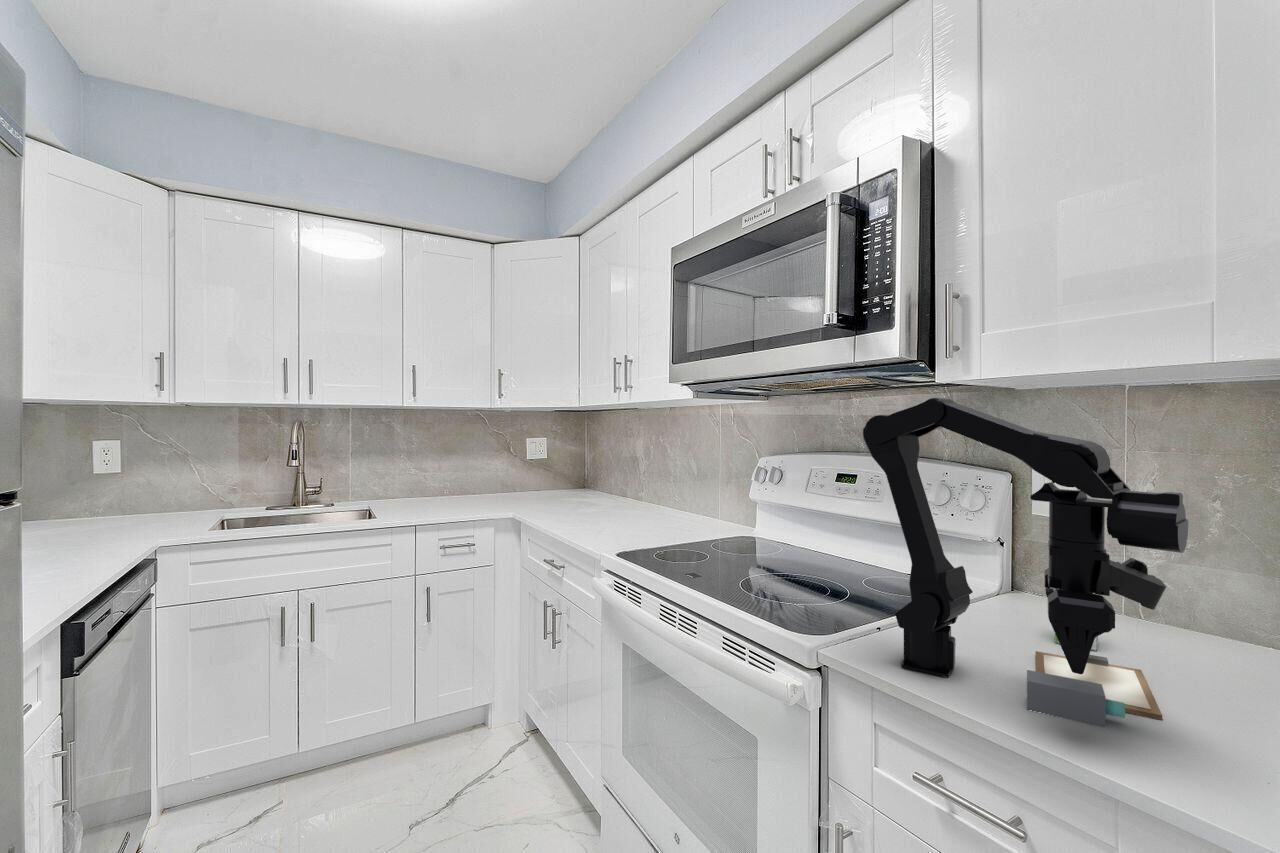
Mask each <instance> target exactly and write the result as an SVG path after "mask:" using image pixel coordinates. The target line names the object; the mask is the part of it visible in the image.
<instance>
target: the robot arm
mask: <svg viewBox="0 0 1280 853" xmlns="http://www.w3.org/2000/svg"><path fill="white" fill-rule="evenodd" d="M940 428H943V429H946V430H948V431H951V432H954V433H956V434H958V435H961V436H963V437H965V438H968V439H971V440H973V441H976V442H978V443H981V444H983V445H985V446H988V447H991V448H993V449H997V450H998V451H1001V452H1003V453H1006V454H1008V455H1010V456H1013V457H1014V458H1016V459H1018V460H1020V461H1021V462H1022V463H1024V464H1025V465H1026V466H1028V467H1029V468H1030V469H1031V470H1033V471H1035V473H1038V474H1040V475H1042V477H1045V478H1046V479H1048V480H1050V481H1051V482H1046V483H1045V482H1044V484H1043V485H1042V486H1041V488H1039V489H1038V490H1037V491H1036V492H1034V493H1032V494H1031V495H1030V496H1029V498H1030V500H1032V501H1035V502H1036V501H1038V502H1046V503H1049V505H1048V506H1049V507H1048V508H1049V510H1048V514H1049V515H1048V519H1049V520H1048V541H1047V543H1048V544H1047V548H1048V550H1047V551H1048V567H1047V568H1046V569H1044V574H1043V575H1044V576H1043V578H1044V579H1043V580H1044V582H1043V584H1044V588H1045V589H1044V590H1045V596H1046V597H1047V617H1048V621H1049V623H1050V625H1051V628H1052V629H1053V632H1054V635H1055V634H1056V636H1057V639H1058V641H1059V643H1060V644H1059V646H1060V647H1061V649H1062V652H1063V654H1064V656H1065V657H1066V659H1067V661H1068V664H1069V666H1070V668H1071V671H1072V672H1073V673H1077V674H1083V673H1084V670H1085V667H1086V664H1087V661H1088V657H1089V655H1091V651H1092V650H1091V648H1092V645H1093V642H1094V639H1095V638H1096V637H1097V636H1098V637H1099V636H1101V635H1103V634H1106V633H1110V632H1111V631H1113V630H1114V629H1116V611H1115V609H1114V606H1113V605H1112V603H1111V602H1110V601H1109V600H1107V599H1106V598H1105V597H1104V596H1107V597H1111V596H1110V595H1111V592H1112V593H1114V594H1117V595H1119V596H1121V597H1124V598H1126V599H1129V600H1131V601H1133V602H1136V603H1138V604H1140V606H1142V607H1144V608H1146V609H1149V610H1153V611H1154V610H1156V607H1157V606H1158V603H1160V600H1161V598H1162V597H1163V594H1164V592H1165V590H1166V589H1167V585H1166V584H1165V583H1164V582H1163V581H1162V580H1161V579H1160V578H1158V577H1157V576H1155V575H1153V574H1149V571H1148V565H1147V564H1146V563H1145V562H1144V561H1141V560H1139V559H1135V558H1133V557H1130V558H1128V559H1126V561H1123V562H1120V561H1114V560H1111V558H1110V554H1109V553H1108V552H1107V549H1106V548H1105V533H1106V532H1105V529H1106V528H1107V533H1108V535H1109V536H1111V539H1116V540H1117V542H1118V544H1119V545H1121V546H1125V547H1126V546H1128V547H1135V548H1143V549H1150V550H1157V551H1163V552H1164V551H1165V552H1173V553H1177V554H1183V553H1184V552H1185V550H1186V547H1187V543H1188V535H1189V519H1187V515H1186V508H1185V505H1184V494H1182V493H1181V492H1174V491H1173V492H1172V491H1166V492H1152V491H1151V492H1150V491H1149V492H1148V491H1147V492H1146V491H1139V490H1137V491H1136V490H1135V491H1134V490H1132V489H1130V487H1129V486H1128V485H1127V483H1125V482H1124V481H1123V479H1121V477H1120V476H1119V475H1118V474H1117V472H1115V470H1114V469H1113V468H1112V467H1111V458H1110V455H1109V454H1108V452H1107V450H1106V449H1105V448H1104V447H1103V446H1102V445H1100V444H1099V443H1097V442H1094V441H1090V440H1085V439H1080V438H1075V437H1070V436H1067V435H1066V436H1065V435H1060V434H1059V435H1058V434H1053V433H1045V432H1041V431H1035V430H1032V429H1028V428H1026V427H1023V426H1021V425H1018V424H1016V423H1012V422H1009V421H1007V420H1005V419H1001V418H999V417H996V416H993V415H990V414H987V413H984V412H981V411H980V410H977V409H974V408H970V407H968V406H965V405H963V404H960V403H957V402H956V401H954V400H952V399H950V398H944V397H931V398H929V399H926V400H925V401H924V402H920V403H918V404H916V405H913V406H911V407H908V408H905V409H902V410H899V411H896V412H894V413H890V414H879V415H874V416H872V417H871V418H870V419H868V420H867V422H866V423H865V425H864V427H863V429H862V437H863V440H864V443H865V446H866V447H867V449H868V451H869V453H870V456H871V457H872V459H873V460H874V461H875V462H876V464H877V465H878V466H879V467H880V468H881V469H882V471H883V472H884V473H885V476H886V479H887V483H888V486H889V490H890V494H891V497H892V500H893V504H894V505H895V506H894V507H895V509H896V510H895V511H896V513H897V516H898V520H899V525H900V528H901V530H902V534H903V537H904V542H905V544H906V547H907V550H908V555H909V557H910V561H911V567H910V573H909V574H910V576H909V581H908V586H909V593H910V600H911V601H909V603H907V604H906V605H904V606H903V607H902V608H901V609H899V610H897V611H896V612H895V618H896V621H897V625H898V627H899V628H900V629H903V659H902V661H901V663H900V667H901V668H903V669H908V670H913V671H916V672H922V673H926V674H932V675H934V676H935V675H936V676H941V677H945V678H947V677H950V675H951V671H953V670H954V669H955V667H956V637H955V636H952V626H951V625H954V624H955V623H956V622H957V620H958V618H959V616H961V615H963V614H964V613H965V612H966V611H967V609H968V608H969V606H970V603H971V598H970V594H971V595H972V594H973V590H972V588H971V587H970V584H968V581H967V575H966V574H967V573H966V570H965V568H964V566H963V565H959V566H957V567H954V566H953V565H952V563H951V562H950V561H949V560H948V558H947V557H946V555H945V553H944V552H945V551H944V549H943V547H942V546H943V545H942V544H941V540H940V536H939V534H938V530H937V528H936V524H935V521H934V517H933V513H932V511H931V508H930V505H929V501H928V497H927V495H926V492H925V489H924V488H925V487H924V486H923V482H922V481H923V480H922V477H921V475H920V473H919V472H920V471H919V468H918V461H919V455H920V454H919V453H920V449H921V448H920V440H919V439H920V438H921V437H924V436H926V435H928V434H930V433H932V432H934V431H935V430H937V429H940ZM1054 483H1055V484H1057V485H1058V486H1061V487H1064V489H1062V488H1059V487H1057V485H1055V484H1054ZM1065 487H1066V488H1076V489H1077V490H1075V489H1065ZM1106 508H1107V513H1106V512H1105V511H1106ZM1105 513H1106V514H1105ZM1105 516H1106V517H1105ZM1105 525H1106V528H1105ZM1110 591H1111V592H1110ZM1093 593H1095V594H1093ZM1097 594H1098V595H1097Z"/></svg>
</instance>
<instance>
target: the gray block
mask: <svg viewBox="0 0 1280 853" xmlns="http://www.w3.org/2000/svg"><path fill="white" fill-rule="evenodd" d="M1026 676H1027V677H1026V708H1027V709H1026V711H1029V710H1032V711H1031V712H1033V711H1036V712H1035V713H1038V712H1041V713H1040V714H1042V713H1045V714H1044V715H1047V714H1049V715H1048V716H1051V715H1053V716H1052V717H1056V716H1058V717H1057V718H1060V717H1062V718H1061V719H1065V720H1069V721H1073V722H1074V721H1075V722H1078V723H1084V724H1088V725H1093V726H1098V727H1102V728H1106V715H1108V716H1113V717H1118V718H1122V719H1125V718H1126V712H1125V705H1124V702H1119V701H1114V700H1109V699H1105V693H1104V690H1103V687H1102V684H1099V683H1093V682H1088V681H1083V680H1078V679H1072V678H1067V677H1062V676H1057V675H1051V674H1046V673H1041V672H1036V670H1035V671H1034V670H1028V669H1027V670H1026Z"/></svg>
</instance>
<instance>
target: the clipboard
mask: <svg viewBox="0 0 1280 853" xmlns="http://www.w3.org/2000/svg"><path fill="white" fill-rule="evenodd" d="M1035 671H1036V672H1041V673H1046V674H1051V675H1057V676H1062V677H1067V678H1072V679H1078V680H1083V681H1088V682H1093V683H1099V684H1102V687H1103V690H1104V693H1105V699H1109V700H1114V701H1119V702H1124V705H1125V714H1126V713H1127V714H1131V715H1135V714H1136V716H1141V717H1146V718H1152V719H1156V720H1159V721H1160V720H1161V721H1164V720H1163V717H1164V716H1163V713H1162V711H1161V708H1160V707H1159V704H1158V702H1157V701H1156V698H1155V696H1154V694H1153V692H1152V689H1151V688H1150V686H1149V683H1148V681H1147V679H1146V676H1145V675H1144V673H1143V670H1142V669H1139V668H1133V667H1127V666H1123V665H1116V664H1109V660H1108V657H1106V656H1099V655H1094V654H1089V657H1088V661H1087V664H1086V667H1085V670H1084V673H1083V674H1077V673H1073V672H1072V671H1071V668H1070V666H1069V664H1068V661H1067V659H1066V657H1065V655H1059V654H1056V653H1055V654H1053V653H1048V652H1043V651H1037V650H1035Z"/></svg>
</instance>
